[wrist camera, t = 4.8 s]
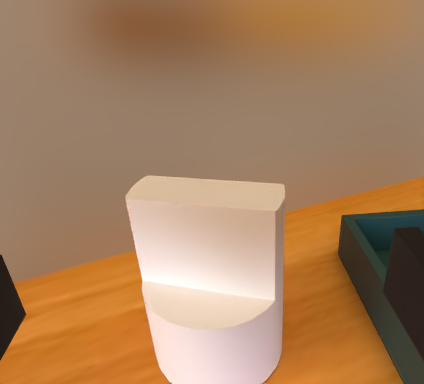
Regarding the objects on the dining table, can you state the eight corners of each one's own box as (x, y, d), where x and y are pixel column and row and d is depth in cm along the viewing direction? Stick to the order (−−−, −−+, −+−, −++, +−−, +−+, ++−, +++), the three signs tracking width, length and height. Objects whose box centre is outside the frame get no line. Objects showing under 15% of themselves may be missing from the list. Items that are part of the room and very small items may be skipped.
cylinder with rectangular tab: (289, 303, 29) (293, 162, 24) (272, 415, 22) (272, 247, 16) (181, 287, 32) (162, 156, 26) (133, 382, 24) (91, 227, 19)
